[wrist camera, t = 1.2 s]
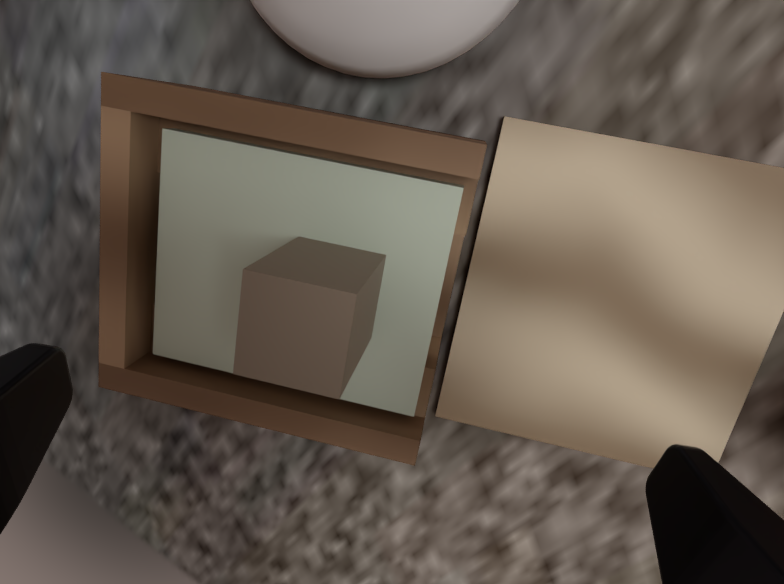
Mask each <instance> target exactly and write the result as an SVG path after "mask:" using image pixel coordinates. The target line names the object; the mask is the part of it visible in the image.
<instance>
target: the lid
mask: <svg viewBox="0 0 784 584" xmlns="http://www.w3.org/2000/svg"><path fill="white" fill-rule="evenodd" d="M463 189H464V185H460V184H454V183H449V182H444V181H439V180H434V179H429V178H424V177H419V176H414V175H409V174H404V173H399V172H394V171H389V170H384V169H378V168H373V167H368V166H363V165H358V164H353V163H348V162H343V161H338V160H333V159H328V158H323V157H318V156H313V155H308V154H303V153H297V152H292V151H287V150H282V149H277V148H272V147H267V146H262V145H257V144H252V143H247V142H242V141H237V140H232V139H227V138H221V137H216V136H211V135H206V134H201V133H196V132H191V131H186V130H181V129H176V128H162V147H161V171H160V194H159V217H158V240H157V264H156V287H155V310H154V333H153V354H155V355H159V356H163V357H167V358H171V359H176V360H180V361H184V362H188V363H192V364H196V365H201V366H205V367H209V368H213V369H217V370H221V371H226V372H230V373H233V374H235V375H239V376H244V377H248V378H252V379H256V380H260V381H264V382H269V383H273V384H277V385H281V386H285V387H289V388H293V389H298V390H302V391H306V392H310V393H314V394H318V395H323V396H327V397H331V398H335V399H342V400H346V401H350V402H354V403H359V404H363V405H367V406H371V407H375V408H379V409H384V410H388V411H392V412H396V413H400V414H404V415H409V416H413V417H414V414H415V410H416V405H417V401H418V396H419V392H420V387H421V382H422V378H423V373H424V369H425V364H426V359H427V355H428V350H429V345H430V341H431V336H432V332H433V327H434V322H435V318H436V313H437V309H438V304H439V299H440V295H441V290H442V286H443V281H444V276H445V272H446V267H447V263H448V258H449V253H450V249H451V244H452V240H453V235H454V230H455V226H456V221H457V217H458V212H459V207H460V203H461V198H462V193H463Z"/></svg>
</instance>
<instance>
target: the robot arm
mask: <svg viewBox="0 0 784 584" xmlns="http://www.w3.org/2000/svg"><path fill="white" fill-rule="evenodd" d="M72 393H73V389H72V383H71V378H70V374H69V369H68V364H67V359H66V355H65V352H64V351H63V350H62V349H61V348H59V347H56V346H50V345H43V344H37V343H31V344H27V345H25V346H22V347H20V348H18V349H16V350H13V351H11V352H9V353H7V354H5V355H2V356H0V534H1V532H2V531H3V529H4V528H5V526H6V525H7V523H8V521H9V520H10V518H11V517H12V515H13V513H14V512H15V510H16V509H17V507H18V505H19V503H20V502H21V500H22V498H23V496H24V495H25V493H26V491H27V489H28V487H29V485H30V483H31V481H32V479H33V477H34V475H35V473H36V471H37V469H38V467H39V465H40V463H41V461H42V459H43V457H44V455H45V453H46V451H47V449H48V447H49V445H50V443H51V441H52V439H53V438H54V436H55V434H56V432H57V430H58V428H59V426H60V424H61V422H62V420H63V418H64V416H65V414H66V412H67V410H68V408H69V405H70V403H71V400H72ZM646 497H647V503H648V508H649V514H650V519H651V525H652V530H653V536H654V541H655V547H656V552H657V558H658V563H659V569H660V574H661V579H662V584H784V520H783V519H782V518H781V517H779V516H778V515H777V514H776V513H775V512H774V511H773V510H771V509H770V508H769V507H768V506H767V505H766V504H765V503H763V502H762V501H761V500H760V499H759V498H758V497H757V496H755V495H754V494H753V493H752V492H751V491H750V490H749V489H747V488H746V487H745V486H744V485H743V484H742V483H740V482H739V481H738V480H737V479H736V478H735V477H734V476H732V475H731V474H730V473H729V472H728V471H727V470H726V469H724V468H723V467H722V466H721V465H720V464H719V463H718V462H716V461H715V460H714V459H713V458H712V457H711V456H710V455H708V454H707V453H706V452H705V451H704V450H702V449H700V448H697V447H692V446H686V445H680V444H673V445H671V446H669V447H668V448H667V449H666V450H665V452H664V454H663V455H662V457H661V458H660V460H659V461H658V463H657V464H656V466H655V467H654V469H653V470H652V472H651V473H650V475H649V476H648V479H647V482H646Z"/></svg>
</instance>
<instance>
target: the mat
mask: <svg viewBox="0 0 784 584" xmlns="http://www.w3.org/2000/svg"><path fill="white" fill-rule="evenodd" d="M783 311H784V168H781V167H776V166H770V165H765V164H760V163H754V162H749V161H743V160H738V159H732V158H727V157H722V156H716V155H711V154H705V153H700V152H694V151H689V150H684V149H678V148H673V147H667V146H662V145H656V144H651V143H645V142H640V141H635V140H629V139H624V138H618V137H613V136H607V135H602V134H597V133H591V132H586V131H580V130H575V129H569V128H564V127H558V126H553V125H548V124H542V123H537V122H531V121H526V120H520V119H515V118H510V117H504V119H503V123H502V128H501V132H500V136H499V141H498V145H497V149H496V154H495V158H494V162H493V167H492V171H491V175H490V180H489V184H488V188H487V193H486V197H485V201H484V206H483V210H482V214H481V219H480V223H479V227H478V232H477V236H476V240H475V245H474V249H473V253H472V258H471V262H470V266H469V271H468V275H467V279H466V284H465V288H464V292H463V297H462V301H461V305H460V310H459V314H458V318H457V323H456V327H455V331H454V336H453V340H452V344H451V349H450V353H449V357H448V362H447V366H446V370H445V375H444V379H443V383H442V388H441V392H440V396H439V401H438V405H437V409H436V415H435V416H436V417H440V418H444V419H449V420H453V421H457V422H461V423H465V424H470V425H474V426H478V427H482V428H486V429H490V430H495V431H499V432H503V433H507V434H511V435H515V436H520V437H524V438H528V439H532V440H536V441H541V442H545V443H549V444H553V445H557V446H561V447H566V448H570V449H574V450H578V451H582V452H587V453H591V454H595V455H599V456H603V457H607V458H612V459H616V460H620V461H624V462H628V463H632V464H637V465H641V466H645V467H649V468H653V469H654V467H655V466H656V464H657V463H658V461H659V460H660V458H661V457H662V455H663V454H664V452H665V450H666V449H667V448H668V447H669V446H671V445H673V444H680V445H686V446H692V447H697V448H700V449H702V450H704V451H705V452H706V453H707V454H708V455H710V456H711V457H712V458H713V459H714V460H715V461H716V462H719V460H720V458H721V455H722V453H723V451H724V448H725V446H726V444H727V441H728V439H729V437H730V434H731V432H732V430H733V427H734V425H735V423H736V420H737V418H738V416H739V413H740V411H741V409H742V406H743V404H744V402H745V400H746V397H747V395H748V393H749V390H750V388H751V386H752V383H753V381H754V379H755V376H756V374H757V372H758V369H759V367H760V365H761V362H762V360H763V358H764V355H765V353H766V351H767V348H768V346H769V344H770V341H771V339H772V337H773V335H774V332H775V330H776V328H777V325H778V323H779V321H780V318H781V316H782V314H783Z"/></svg>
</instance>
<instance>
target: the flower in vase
mask: <svg viewBox="0 0 784 584" xmlns="http://www.w3.org/2000/svg"><path fill="white" fill-rule="evenodd" d="M250 1H251V3H252V4H253V6H254V7H255V9H256V10H257V12H258V13H259V15H260V16H261V17H262V18H263V19H264V21H265V22H266V23H267V24H268V25H269V26H270V28H271V29H272V30H273V31H274V32H275V33H276V34H277V35H278V36H279V37H280V38H281V39H283V40H284V41H285V42H286V43H287V44H288V45H289V46H290V47H292V48H293V49H295V50H296V51H298V52H299V53H301V54H302V55H304V56H305V57H306V58H308V59H310V60H312V61H314V62H316V63H318V64H320V65H322V66H324V67H326V68H329V69H332V70H335V71H338V72H341V73H344V74H349V75H354V76H359V77H365V78H394V77H404V76H409V75H413V74H417V73H422V72H426V71H428V70H431V69H433V68H436V67H439V66H441V65H444V64H446V63H448V62H450V61H452V60H453V59H455V58H457V57H459V56H461V55H462V54H464V53H466V52H467V51H469V50H470V49H471V48H473V47H474V46H475V45H477V44H478V43H480V42H481V41H482V40H484V39H485V38H486V37H487V36H488V35H489V34H490V33H491V32H492V31H493V30H494V29H495V28H496V27H497V26H499V25H500V24H501V23H502V22H503V20H504V19H505V18H506V17H507V16H508V14H509V13H510V12H511V11H512V9H513V8H514V7H515V6H516V5H517V3H518V2H519V0H250Z"/></svg>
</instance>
